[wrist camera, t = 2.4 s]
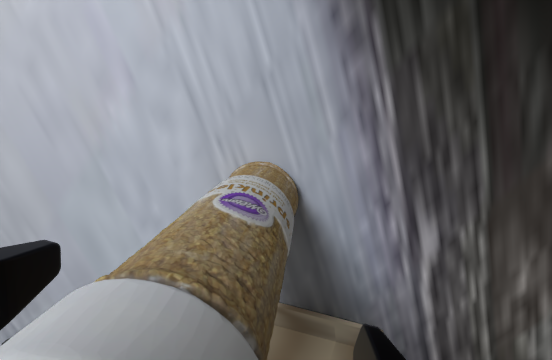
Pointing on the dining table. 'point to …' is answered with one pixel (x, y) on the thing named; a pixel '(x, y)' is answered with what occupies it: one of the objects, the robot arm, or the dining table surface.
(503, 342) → the dining table surface
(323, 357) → the socket block
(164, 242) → the sprinkles bottle
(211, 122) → the dining table surface
